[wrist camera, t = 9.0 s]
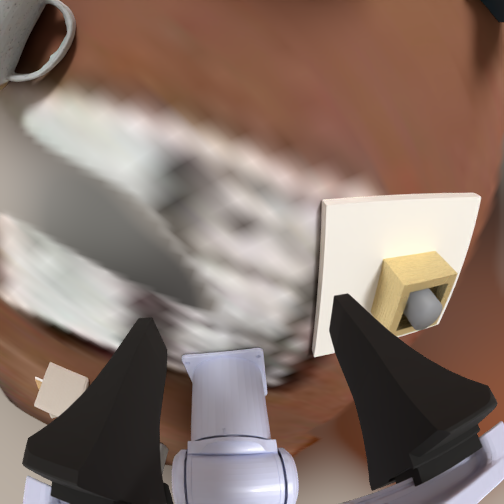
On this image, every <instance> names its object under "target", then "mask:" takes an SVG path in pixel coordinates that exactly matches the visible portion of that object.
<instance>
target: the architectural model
mask: <svg viewBox="0 0 504 504" xmlns="http://www.w3.org/2000/svg"><path fill="white" fill-rule="evenodd" d="M35 381H36V383H37V386H38V389H40V390H39V392H38V395H37V398H36V401H35V404H34V406H35V407H37V408H39V409H41V410H43V411H46V412H48V413H49V414H50V416H51V418H55V417H58V416H60V415H61V414H62V413H63V412H64V411H65V410H66V409H68V408H69V407H70V406H71V405H72V404H73V403H74V402H75V401H76V400H77V399H78V398H79V397H80V396H81V395H82V394H83V393H84V391H85V390H86V389H87V388H88V385H89V380H88V378H87V377H85V376H82V375H80V374H77V373H75V372H72V371H70V370H67V369H65V368H63V367H60V366H58V365H56V364H54V363H52V362H50V363H49V366H48V368H47V371H46V373H45V376H44V379H43V380H42V379H40V378H38V377H35Z"/></svg>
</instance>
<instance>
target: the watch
mask: <svg viewBox="0 0 504 504" xmlns="http://www.w3.org/2000/svg"><path fill="white" fill-rule="evenodd" d="M481 1H482V2H483V4H484V5H485V6H486V7H487V8H488V9H489V11H490V12H491V13H492V14H493V15H494V17H495V18H496V19H497V20H498V22H504V0H481Z"/></svg>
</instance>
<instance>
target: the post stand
mask: <svg viewBox="0 0 504 504" xmlns="http://www.w3.org/2000/svg"><path fill="white" fill-rule="evenodd" d="M480 200H481V197H480V196H479V195H477V194H476V193H430V194H403V195H383V196H366V197H351V198H337V199H325V200H322V213H321V242H320V261H319V277H318V291H317V303H316V315H315V325H314V335H313V344H312V352H313V355H314V357H317V356H322V355H327V354H332V353H335V351H334V347H333V344H332V340H331V336H330V333H329V327H330V320H331V313H332V306H333V299H334V296H335V295H341V294H347V293H348V294H349V295H351V296H352V297H353V298H354V299H355V300H356V301H357V302H358V303H359V304H360V305H361V306H362V307H363V308H365V309H366V310H367V311H368V312H369V313H370V314H371V308H372V304H373V301H374V297H375V293H376V289H377V285H378V280H379V276H380V272H381V267H382V262H383V259H386V258H392V257H399V256H406V255H412V254H418V253H425V252H431V251H436V252H437V253H438V254H439V255H440V256H441V257H442V258H443V259H444V260H445V261H446V262H447V263H448V264H449V265H450V266H451V267H452V268H453V269H454V270H455V271H456V272H457V273H458V274H457V277H456V280H455V282H454V285H453V287H452V290H451V292H450V295H449V297H448V299H447V302H446V304H445V306H444V309H443V311H442V304H441V303H440V301H439V300H438V299H437V298H436V296H435V295H434V294H433V293H432V291H431V290H430V289H429V288H427V289H423V290H419V291H414V292H410V294H409V297H408V300H407V303H406V306H405V309H404V312H403V313H404V314H405V316H406V317H407V319H408V320H409V322H410V323H411V325H412V327H413V328H414V329H415V330H417V331H420V330H423V329H426V328H429V326H430V325H432V324H433V323H434V322H435V321H436V320H437V319H438V317H439V316H440V317H439V320H438V322H437V324H438V323H439V322H440V319H441V318H442V315H443V313H444V311H445V309H446V306H447V304H448V302H449V299H450V297H451V295H452V292H453V290H454V287H455V284H456V282H457V279H458V277H459V274H460V271H461V268H462V265H463V262H464V259H465V256H466V253H467V250H468V247H469V244H470V240H471V237H472V233H473V230H474V226H475V222H476V218H477V214H478V210H479V205H480ZM441 312H442V313H441ZM440 314H441V315H440ZM371 315H372V314H371ZM372 316H373V315H372ZM437 324H436V325H437ZM433 326H435V325H433ZM430 327H432V326H430ZM414 332H416V331H414ZM410 333H413V332H410ZM410 333H407V334H410ZM407 334H403V335H407ZM403 335H400V336H403ZM400 336H396V337H400Z"/></svg>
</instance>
